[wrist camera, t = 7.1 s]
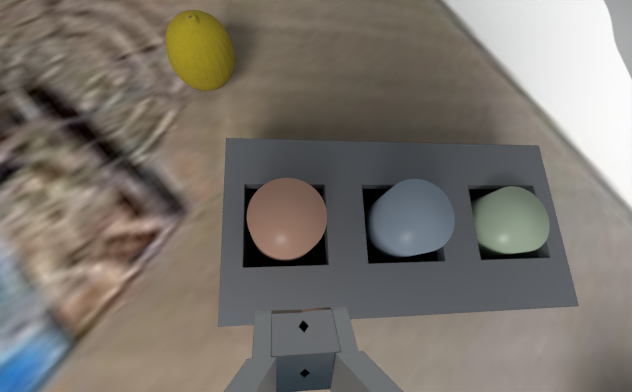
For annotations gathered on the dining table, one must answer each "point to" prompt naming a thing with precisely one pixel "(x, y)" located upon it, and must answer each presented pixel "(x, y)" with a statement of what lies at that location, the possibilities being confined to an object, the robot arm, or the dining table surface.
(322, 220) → the terracotta button
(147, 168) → the dining table surface
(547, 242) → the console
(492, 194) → the sage button
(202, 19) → the lemon
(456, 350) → the dining table surface
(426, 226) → the slate button
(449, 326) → the dining table surface
